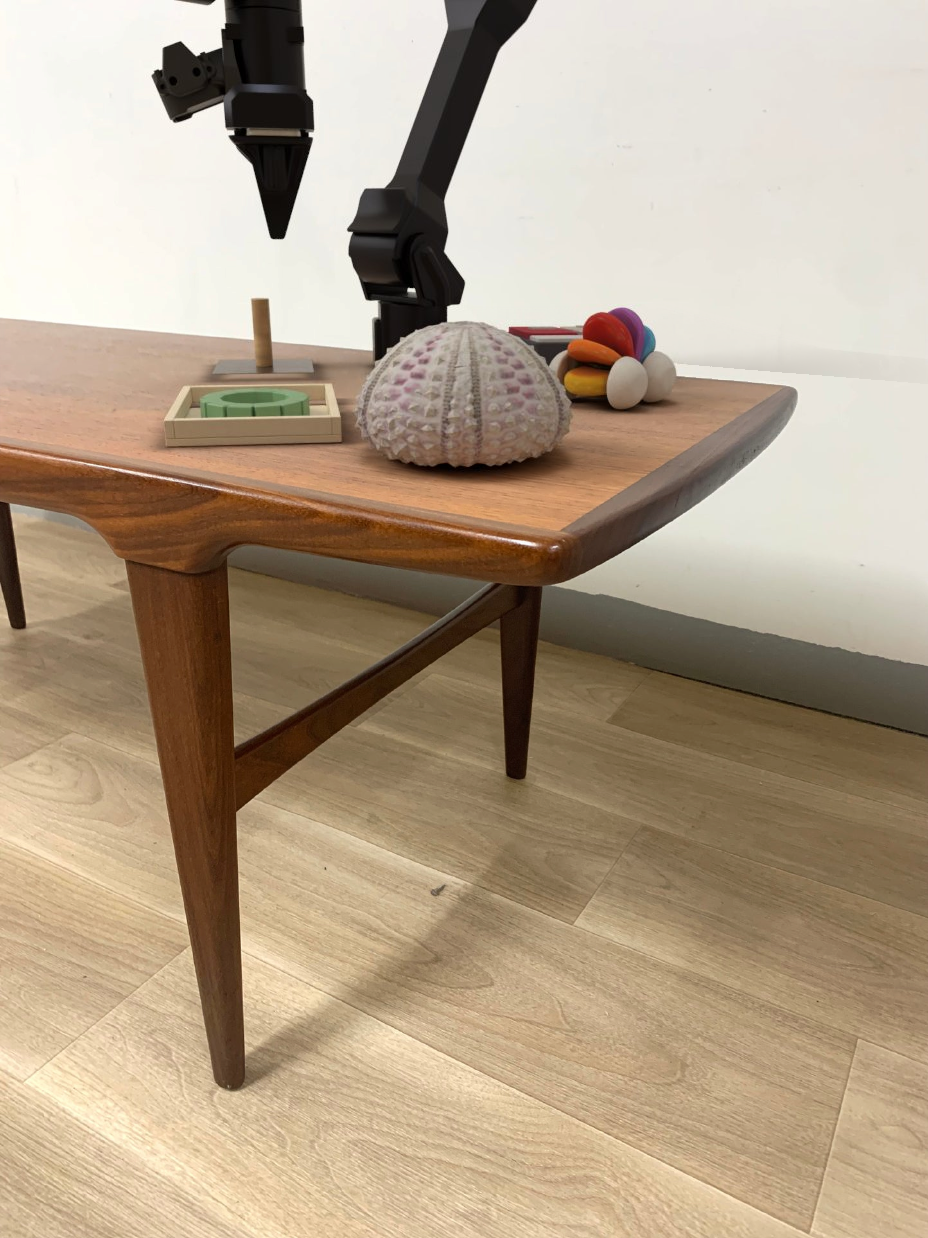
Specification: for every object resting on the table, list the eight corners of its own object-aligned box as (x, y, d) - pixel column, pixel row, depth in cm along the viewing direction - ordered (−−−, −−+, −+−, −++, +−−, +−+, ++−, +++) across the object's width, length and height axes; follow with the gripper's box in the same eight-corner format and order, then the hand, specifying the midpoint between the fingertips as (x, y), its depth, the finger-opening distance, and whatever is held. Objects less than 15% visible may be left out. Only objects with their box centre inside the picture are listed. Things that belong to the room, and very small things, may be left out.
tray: (333, 405, 75) (332, 383, 74) (341, 442, 63) (340, 416, 62) (185, 408, 73) (183, 385, 72) (166, 446, 61) (163, 420, 60)
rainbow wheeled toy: (531, 401, 77) (535, 307, 74) (601, 387, 84) (607, 300, 81) (619, 416, 72) (626, 315, 69) (686, 400, 78) (695, 307, 76)
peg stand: (312, 364, 94) (308, 294, 92) (314, 379, 86) (310, 302, 84) (219, 365, 93) (212, 294, 90) (212, 380, 85) (205, 302, 82)
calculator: (607, 323, 98) (656, 333, 84) (605, 366, 99) (652, 383, 85) (502, 324, 96) (534, 333, 82) (501, 367, 98) (532, 384, 84)
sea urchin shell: (311, 456, 59) (304, 321, 56) (452, 423, 69) (453, 307, 66) (479, 495, 51) (482, 341, 48) (610, 452, 61) (620, 322, 58)
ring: (308, 405, 72) (307, 387, 71) (311, 426, 65) (310, 405, 64) (205, 408, 71) (203, 388, 70) (197, 429, 64) (194, 408, 63)
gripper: (166, 31, 79) (186, 234, 85) (135, -18, 62) (162, 240, 68) (302, 36, 81) (312, 235, 87) (308, -10, 64) (319, 241, 70)
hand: (277, 237), depth 78 cm, fingers open, 9 cm apart
